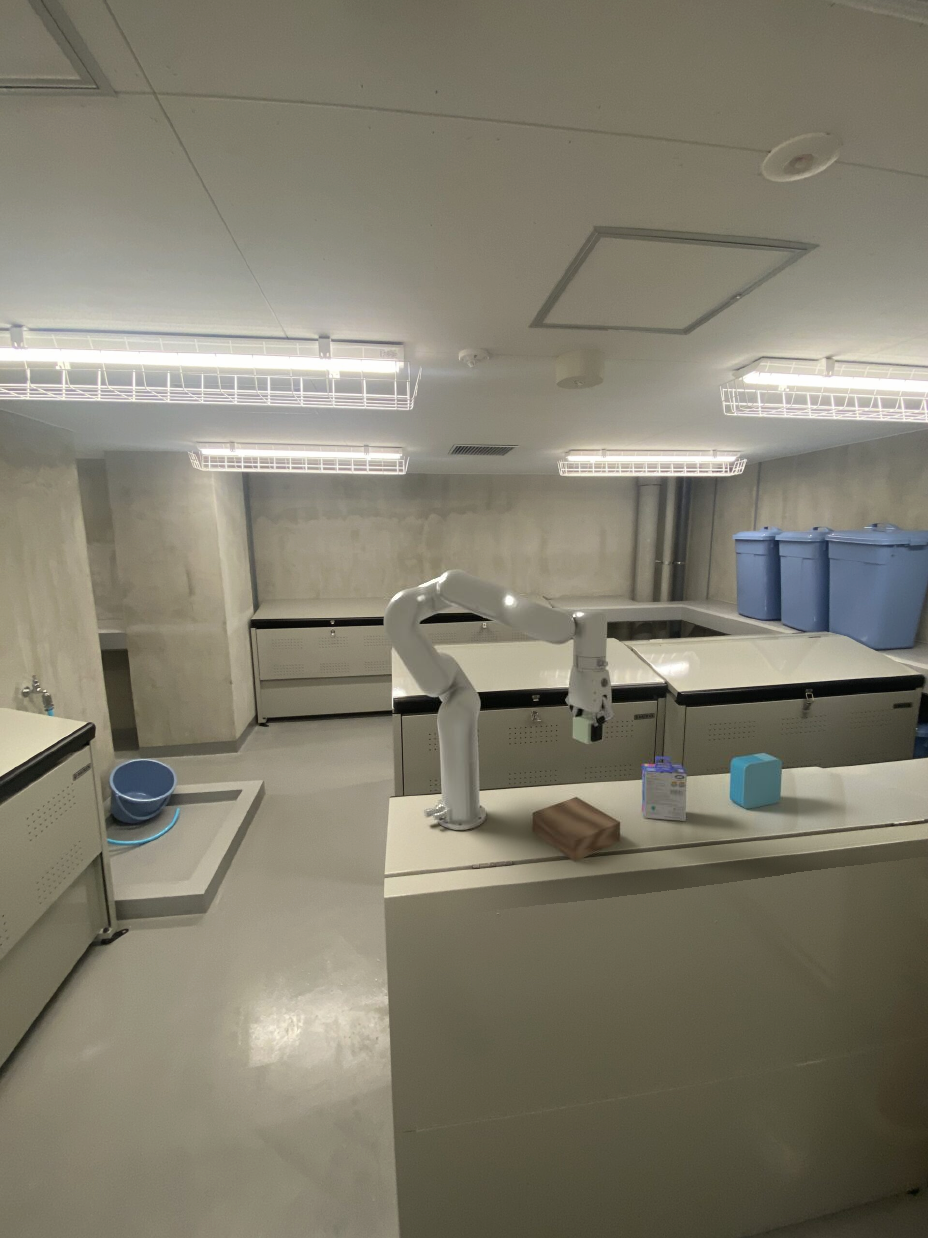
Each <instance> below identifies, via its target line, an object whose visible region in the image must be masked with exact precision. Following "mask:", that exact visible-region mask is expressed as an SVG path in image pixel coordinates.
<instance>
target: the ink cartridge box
mask: <svg viewBox="0 0 928 1238" xmlns="http://www.w3.org/2000/svg"><path fill="white" fill-rule="evenodd" d="M654 757H655V758H654V759H655V760H654V761H655V762H654V763H642V764H641V774H642V775H641V785H642V788H641V792H642V793H641V794H642V796H641V812H642V816H643V818H644V819H653V820H654V819H656V820H668V821H669V820H670V821H681V822H682V821H683V822H685V821H686V819H687V817H686V815H687V814H686V813H687V779H688V777H687V775H688V774H687V772H686V770H685V768H684V766H683V765H681V764H672V761H671V760H672V759H671V756H659V755H656V756H654ZM660 760H664V761H667V762H659V761H660Z"/></svg>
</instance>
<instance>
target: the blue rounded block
mask: <svg viewBox="0 0 928 1238" xmlns="http://www.w3.org/2000/svg"><path fill="white" fill-rule="evenodd" d="M782 768H783V762H782V760H781V759H780V758H777V757H775V756H773V755H770V754H767V753H766V752H762V753H756V754H750V755H748V754H747V755H744V756H737V757H733V758H732V759H731V762H730V771H729V772H730V778H729V799H730V801H731V802H733V803H735V804H737V805H738V806H740V807H742V808H744V809H745V810H748V809H755V808H760V807H764V806H769V805H770V806H771V805H775V804H777V803H779V802H780V800H781V794H782V776H783V775H782V773H783V769H782Z"/></svg>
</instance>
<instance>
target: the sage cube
mask: <svg viewBox="0 0 928 1238" xmlns="http://www.w3.org/2000/svg"><path fill="white" fill-rule="evenodd" d="M591 725H593V720H592V715H591V714H590V713H589V714H585V715H584V714H583V716H578V717H574V718H573V717H572V739H575V740H576V741H579V742H581V743H584V744H586V745H591V744H594V743H598V742H602V741H604V733H603V734H602V740H600V741H596V742H592V741H591ZM604 725H605V724H603V728H604Z"/></svg>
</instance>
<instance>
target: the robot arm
mask: <svg viewBox="0 0 928 1238" xmlns="http://www.w3.org/2000/svg"><path fill="white" fill-rule="evenodd" d="M453 607H455V608H458V609H461V610H464V611H467V612H468V613H472V614H474V615H477V616H480V617H482V618H485V619H487V620H490V621H493V622H495V623H498V624H499V625H501V626H504V627H508V628H510V629H511V630H514V631H517V632H519V633H521V634H524V635H526V636H528V637H531V638H534V639H536V640H537V639H538V640H540V641H542V642H545V643H548V644H551V645H557V646H558V645H565V644H566V643H568V642H569V641H571V640H572V639H573V643H572V644H573V646H572V648H573V649H572V666H571V669H570V673H569V681H568V695H567V696H566V697H565V699H564V700H565V702H566V704H567V706H568V707H569V710H570V712H571V717H572V719H573V718H574V717H578V716H583V715H584V714H585V711H586V712H589V713H590V715H592V720H593V725H591V741H592V742H595V743H597V742H596V741H599V742H601V741H600V740H602V734H603V735H604V727H603V724H604V725H606V722H607V721H608V720H610V719H611V718H613V717H615V714H614V712H613V709H612V703H613V702H612V701H613V700H612V684H611V676H610V671H609V669H607V667H608V666H609V662H608V661H607V647H608V646H607V643H608V642H607V639H608V637H607V636H608V615H607V613H606V611H605V610H601V609H594V608H592V609H590V608H587V609H585V608H584V609H568V608H562V607H549V606H547V605H543V604H540V603H537V602H536V601H533V600H530V599H528V598H525V597H524V596H522V595H520V594H518V593H517V592H515V591H514V590H512V589H511V588H509V587H506V586H503V585H501V584H498V583H495V582H492V581H490V580H486V579H483V578H481V577H478V576H475V575H472V574H470V573H469V572H467V571H465V570H464V569H457V568H456V569H450V570H449V569H448V570H447V571H445V572H444V573H442V574H441V575H440V577H439V576H438V577H437V578H434V579H432V580H430V581H428V582H425V583H422V584H420V585H418V586H416V587H412V588H407V589H403V590H401V591H399V592H397V593H396V594H395V595H394V596H393V597H392V598H391V600H390V601H389V602H388V604H387V606H386V608H385V612H384V616H383V627H384V628H383V629H384V633H385V634H386V637H387V640H388V641H389V643H390V645H391V646H392V647H393V649H394V651H395V652H396V653H397V655H398V657H399V658H400V660H401V661H402V663H403V665H404V667H405V668H406V670H407V671H408V672H409V674H410V675H411V677H412V679H413V680H414V681H415V683H416V684H417V687H418V688H419V690H420V691H421V692H422V693H423V694H425V695H426V696H428V697H432V698H439V700H440V701H441V702H442V703H441V704H440V706H439V709H438V712H437V719H436V722H437V732H438V740H439V758H440V781H441V782H440V783H441V799H438V800H437V804H436V805H435V806H433V807H429V808H426V809H424V810H423V816H424V817H425V819H428V818H430V817H432V819H433V821H437V823H438V824H439V825H440V826H442V827H443V828H446V829H450V830H456V831H465V830H470V829H471V830H472V829H474V828H476V827H479V826H480V825H482V824H483V823H484V822H485V821H486V818H487V812H486V809H485V807H484V806H483V805H481V804H480V803H481V801H480V771H479V769H480V767H479V766H480V765H479V760H480V759H479V741H478V739H479V738H478V718H479V717H478V716H479V714H480V710H481V704H482V703H481V699H480V696H479V693H478V692H477V690H476V688H475V687H474V685H473V683H472V681H471V680H470V679H469V678H468V676H467V675H466V673H465V672H464V670H463V668H462V667H461V665H460V664H459V662H458V661H457V660H456V659H455V658H454V657H453V656H452V655H451V654H448V653H447V652H443V651H441V652H439V651H438V650H437V649H436V647H435V646H434V645H433V643H432V641H431V639H430V638H429V636H428V635H427V634H426V632H424V631H423V629H422V628H421V625H420V623H421V621H423V620H425V619H428V618H429V617H432V616H433V615H436V614H438V613H440V612H444V611H445V610H448V609H451V608H453Z"/></svg>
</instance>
